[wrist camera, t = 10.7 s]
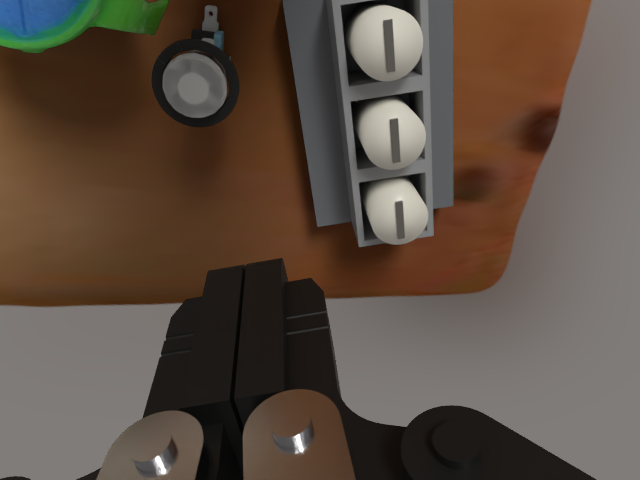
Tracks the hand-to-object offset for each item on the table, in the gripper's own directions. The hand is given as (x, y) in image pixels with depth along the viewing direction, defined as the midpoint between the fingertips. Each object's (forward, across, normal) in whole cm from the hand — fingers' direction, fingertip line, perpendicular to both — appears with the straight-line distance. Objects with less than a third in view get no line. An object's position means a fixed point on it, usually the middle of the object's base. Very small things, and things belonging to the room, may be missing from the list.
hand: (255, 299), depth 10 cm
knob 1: (+29, -8, 0) cm, 30 cm away
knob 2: (+29, -7, +12) cm, 32 cm away
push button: (+33, +4, 0) cm, 33 cm away
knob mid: (+29, -8, +6) cm, 31 cm away
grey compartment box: (+33, -8, +6) cm, 34 cm away
